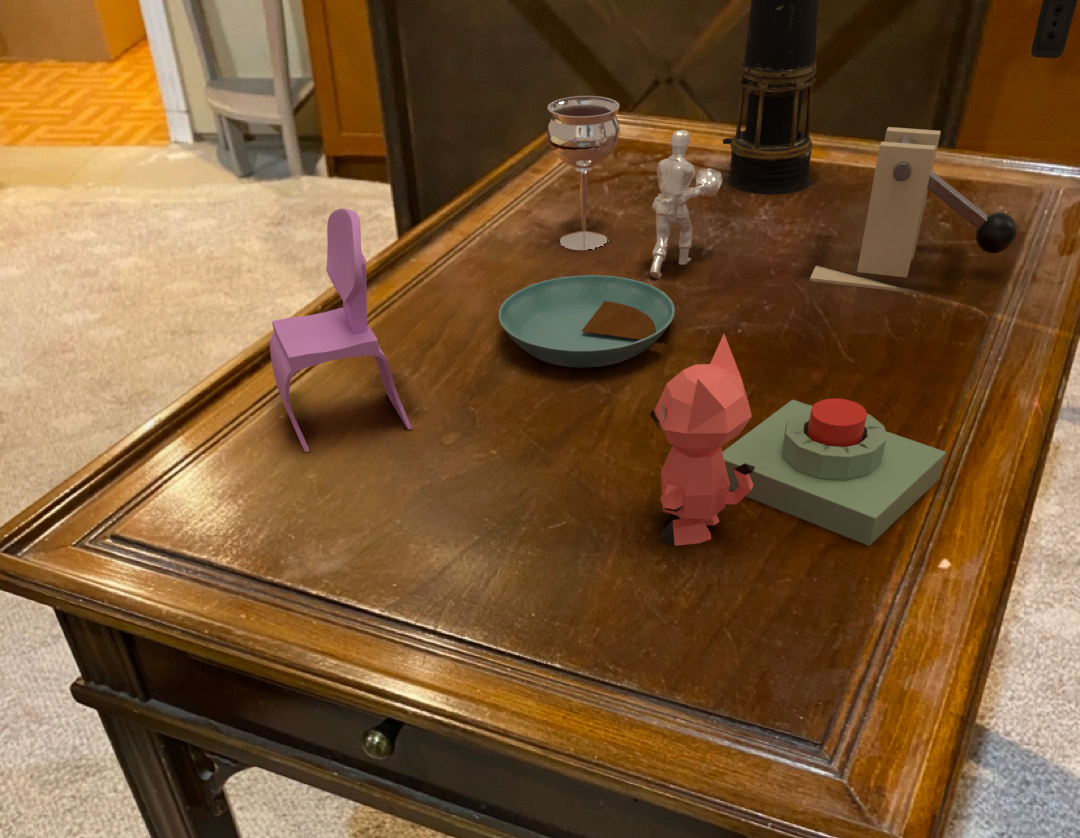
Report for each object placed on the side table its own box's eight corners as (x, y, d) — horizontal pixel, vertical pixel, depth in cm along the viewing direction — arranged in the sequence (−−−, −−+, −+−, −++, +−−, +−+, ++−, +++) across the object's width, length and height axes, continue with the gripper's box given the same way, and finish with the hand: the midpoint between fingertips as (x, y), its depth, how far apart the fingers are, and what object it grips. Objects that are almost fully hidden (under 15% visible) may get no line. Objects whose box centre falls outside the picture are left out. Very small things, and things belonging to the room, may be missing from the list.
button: (871, 432, 70) (877, 409, 69) (845, 455, 69) (849, 431, 67) (824, 416, 72) (828, 392, 71) (796, 437, 70) (800, 414, 69)
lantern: (714, 178, 116) (742, -176, 95) (793, 170, 117) (838, -182, 96) (740, 207, 110) (776, -166, 89) (823, 198, 111) (878, -173, 90)
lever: (997, 252, 93) (1025, 222, 91) (994, 266, 91) (1024, 235, 88) (882, 161, 91) (908, 127, 89) (877, 173, 89) (904, 139, 87)
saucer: (633, 292, 96) (634, 262, 94) (701, 362, 86) (704, 330, 84) (479, 319, 93) (477, 289, 91) (531, 395, 83) (530, 363, 81)
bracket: (955, 267, 98) (989, 127, 89) (945, 307, 92) (981, 161, 83) (825, 253, 101) (846, 116, 93) (808, 290, 95) (829, 148, 87)
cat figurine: (661, 489, 73) (671, 321, 64) (758, 507, 71) (782, 336, 62) (629, 546, 68) (636, 373, 60) (733, 567, 66) (755, 392, 58)
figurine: (633, 287, 97) (638, 145, 88) (670, 251, 102) (678, 114, 94) (682, 295, 95) (692, 151, 87) (717, 258, 101) (729, 119, 92)
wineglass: (596, 258, 102) (597, 121, 93) (537, 246, 104) (532, 111, 96) (629, 234, 106) (633, 101, 97) (571, 223, 108) (570, 92, 100)
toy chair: (279, 409, 83) (234, 209, 72) (387, 387, 85) (359, 189, 74) (301, 461, 77) (255, 252, 66) (416, 435, 79) (390, 229, 68)
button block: (939, 479, 73) (953, 427, 70) (869, 547, 67) (881, 493, 65) (788, 426, 78) (796, 375, 76) (713, 484, 73) (718, 432, 70)
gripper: (1193, -242, 62) (1100, 70, 74) (1184, -258, 72) (1103, 22, 83) (1057, -239, 64) (988, 64, 76) (1066, -254, 74) (1003, 18, 85)
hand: (1048, 42), depth 79 cm, fingers open, 8 cm apart
